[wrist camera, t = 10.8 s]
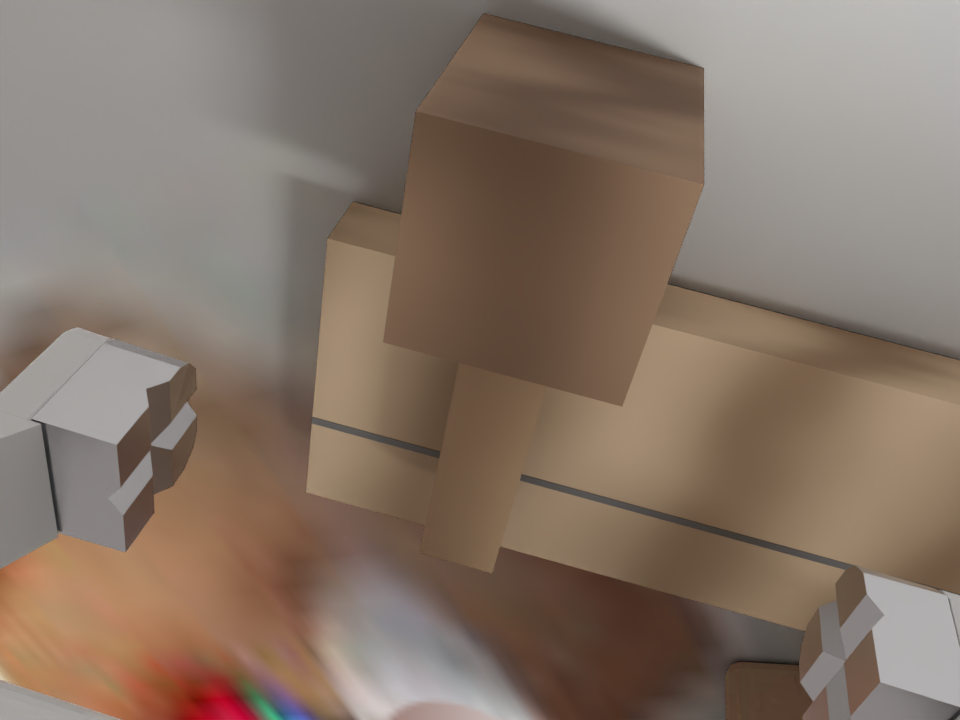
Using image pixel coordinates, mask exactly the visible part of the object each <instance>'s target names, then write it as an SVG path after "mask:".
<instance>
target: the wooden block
mask: <svg viewBox="0 0 960 720" xmlns="http://www.w3.org/2000/svg"><path fill="white" fill-rule="evenodd" d="M812 703H813V701H812V699H811V698H810V696H809V695H808V693H807V692H806V690H805V689H804V687H803V686H802V684H801V683H800V671H799V665H786V664H768V663H751V662H737V663H733V664H731V665H730V667H729V669H728V671H727V673H726V675H725V705H726V720H803V718H802V716H803V715H804V713H805V712H806V711H807V709H808V708H809V707H810V705H811V704H812Z"/></svg>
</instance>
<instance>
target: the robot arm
mask: <svg viewBox="0 0 960 720" xmlns="http://www.w3.org/2000/svg"><path fill="white" fill-rule="evenodd" d="M196 389H197V387H196V368H194V367H193V366H192V365H191V364H189V363H187V362H184V361H181V360H178V359H175V358H172V357H169V356H165V355H162V354H159V353H156V352H153V351H150V350H147V349H144V348H141V347H138V346H135V345H132V344H129V343H126V342H123V341H120V340H117V339H111V338H108V337H105V336H102V335H99V334H96V333H93V332H90V331H87V330H84V329H81V328H78V327H77V328H74V329H71V330H67V331H65V332H64V333H63V334H61V335H60V336H59V337H58V338H57V339H56V340H55V341H54V342H53V343H52V344H51V345H50V346H49V347H48V348H47V349H46V350H45V351H44V352H43V353H41V354H40V355H39V356H38V357H37V358H36V359H35V360H34V361H33V362H32V363H31V364H30V365H29V366H28V367H27V368H26V369H25V370H24V371H22V372H21V373H20V374H19V375H18V376H17V377H16V378H15V379H14V380H13V381H12V382H11V383H10V384H9V385H8V386H7V387H6V388H5V389H4V390H2V391H1V392H0V569H1V568H3V567H5V566H6V565H8V564H10V563H12V562H14V561H15V560H17V559H19V558H21V557H23V556H24V555H26V554H28V553H30V552H32V551H34V550H35V549H37V548H39V547H41V546H43V545H44V544H46V543H48V542H50V541H52V540H53V539H55V538H57V537H58V533H60V534H64V535H67V536H71V537H74V538H78V539H81V540H85V541H88V542H92V543H95V544H99V545H102V546H106V547H109V548H113V549H116V550H119V551H123V552H126V551H127V550H128V549H129V547H130V546H131V544H132V543H133V542H134V540H135V539H136V537H137V536H138V535H139V533H140V532H141V530H142V529H143V528H144V526H145V525H146V523H147V522H148V521H149V519H150V518H151V516H152V515H153V514H154V494H156V493H158V492H161V491H163V490H165V489H168V488H170V487H172V486H173V485H174V484H175V482H176V481H177V479H178V478H179V476H180V475H181V473H182V472H183V470H184V468H185V466H186V464H187V461H188V459H189V457H190V454H191V452H192V449H193V446H194V441H195V436H196V431H197V415H196V414H195V413H194V411H193V410H192V408H191V407H190V405H189V404H188V402H187V401H188V400H189V398H190V397H191V396H192V394H193V393H194V392H195V390H196ZM835 587H836V596H837V600H836V601H833V602H831V603H828V604H825V605H822V606H820V607H818V609H817V611H816V612H815V614H814V615H813V617H812V618H811V620H810V621H809V623H808V625H807V628H806V631H805V634H804V637H803V640H802V644H801V649H800V659H799V671H800V683H801V684H802V686H803V687H804V689H805V690H806V692H807V693H808V695H809V696H810V698H811V699H812V701H813V703H812V704H811V705H810V707H809V708H808V709H807V711H806V712H805V713H804V715H803V716H802V718H803V720H960V595H957V594H953V593H950V592H946V591H943V590H937V589H935V588H932V587H928V586H925V585H922V584H918V583H915V582H911V581H908V580H904V579H901V578H898V577H894V576H891V575H887V574H884V573H881V572H877V571H874V570H870V569H867V568H864V567H860V566H857V565H853V566H852V567H850V568H848V569H847V570H845V571H844V573H843V574H842V575H841V577H840V578H839V579H838V581H837V582H836V583H835ZM0 720H121V719H118V718H115V717H112V716H109V715H106V714H103V713H100V712H97V711H94V710H91V709H88V708H85V707H82V706H79V705H76V704H73V703H69V702H66V701H63V700H60V699H57V698H54V697H51V696H48V695H45V694H42V693H39V692H36V691H33V690H30V689H27V688H24V687H21V686H18V685H15V684H12V683H9V682H6V681H3V680H0Z"/></svg>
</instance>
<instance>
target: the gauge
mask: <svg viewBox="0 0 960 720" xmlns="http://www.w3.org/2000/svg"><path fill="white" fill-rule="evenodd" d="M703 186H704V68H701V67H697V66H693V65H689V64H685V63H681V62H677V61H673V60H669V59H665V58H661V57H657V56H653V55H649V54H645V53H641V52H637V51H633V50H629V49H625V48H621V47H616V46H612V45H608V44H604V43H600V42H596V41H592V40H588V39H584V38H580V37H576V36H572V35H568V34H564V33H560V32H556V31H552V30H548V29H544V28H540V27H536V26H532V25H528V24H524V23H520V22H516V21H512V20H508V19H504V18H500V17H496V16H492V15H488V14H483V15H482V16H481V18H480V19H479V21H478V22H477V24H476V25H475V26H474V28H473V29H472V31H471V32H470V34H469V35H468V37H467V38H466V39H465V41H464V42H463V44H462V45H461V47H460V48H459V49H458V51H457V52H456V54H455V55H454V57H453V58H452V60H451V61H450V62H449V64H448V65H447V67H446V68H445V70H444V71H443V72H442V74H441V75H440V77H439V78H438V80H437V81H436V83H435V84H434V85H433V87H432V88H431V90H430V91H429V93H428V94H427V95H426V97H425V98H424V100H423V101H422V103H421V104H420V106H419V107H418V108H417V110H416V113H415V120H414V127H413V134H412V141H411V148H410V155H409V162H408V169H407V176H406V183H405V190H404V197H403V205H402V212H401V219H400V226H399V233H398V240H397V247H396V254H395V261H394V268H393V275H392V282H391V289H390V296H389V303H388V310H387V317H386V325H385V332H384V339H383V343H387V344H391V345H395V346H398V347H402V348H406V349H409V350H413V351H417V352H421V353H424V354H428V355H432V356H435V357H439V358H443V359H447V360H450V361H454V362H458V363H459V367H458V372H457V376H456V381H455V386H454V391H453V395H452V400H451V405H450V410H449V414H448V419H447V424H446V428H445V433H444V438H443V443H442V447H441V452H440V457H439V462H438V466H437V471H436V476H435V481H434V485H433V490H432V495H431V499H430V504H429V509H428V514H427V518H426V523H425V528H424V533H423V537H422V542H421V547H420V551H419V553H421V554H425V555H428V556H432V557H435V558H439V559H443V560H446V561H450V562H453V563H457V564H460V565H464V566H468V567H471V568H475V569H478V570H482V571H485V572H489V573H493V569H494V566H495V563H496V559H497V556H498V552H499V549H500V546H501V542H502V539H503V535H504V532H505V529H506V525H507V522H508V518H509V515H510V512H511V508H512V505H513V501H514V498H515V495H516V491H517V488H518V485H519V481H520V478H521V474H522V471H523V468H524V464H525V461H526V457H527V454H528V451H529V447H530V444H531V440H532V437H533V434H534V430H535V427H536V423H537V420H538V417H539V413H540V410H541V407H542V403H543V400H544V396H545V393H546V390H547V387H551V388H554V389H558V390H562V391H566V392H569V393H573V394H577V395H580V396H584V397H588V398H592V399H595V400H599V401H603V402H606V403H610V404H614V405H618V406H621V407H622V406H623V403H624V401H625V398H626V395H627V392H628V390H629V387H630V384H631V382H632V379H633V376H634V373H635V371H636V368H637V365H638V363H639V360H640V357H641V354H642V352H643V349H644V346H645V344H646V341H647V338H648V335H649V333H650V330H651V327H652V325H653V322H654V319H655V316H656V314H657V311H658V308H659V306H660V303H661V300H662V297H663V295H664V292H665V289H666V287H667V284H668V281H669V278H670V276H671V273H672V270H673V268H674V265H675V262H676V259H677V257H678V254H679V251H680V249H681V246H682V243H683V240H684V238H685V235H686V232H687V230H688V227H689V224H690V221H691V219H692V216H693V213H694V211H695V208H696V205H697V203H698V200H699V197H700V194H701V192H702V189H703Z"/></svg>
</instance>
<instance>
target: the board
mask: <svg viewBox="0 0 960 720" xmlns="http://www.w3.org/2000/svg"><path fill="white" fill-rule="evenodd" d="M400 219H401V214H397V213H393V212H389V211H386V210H382V209H378V208H374V207H370V206H366V205H363V204H359V203H355V202H352V204H351V205H350V207H349V208H348V210H347V211H346V212H345V214H344V215H343V217H342V218H341V220H340V221H339V222H338V224H337V225H336V227H335V228H334V230H333V231H332V233H331V234H330V235H329V237H328V238H327V249H326V261H325V272H324V284H323V296H322V308H321V320H320V332H319V344H318V355H317V367H316V379H315V391H314V403H313V415H312V426H311V438H310V450H309V462H308V474H307V486H306V493H310V494H313V495H317V496H321V497H324V498H328V499H331V500H335V501H339V502H342V503H346V504H349V505H353V506H357V507H360V508H364V509H367V510H371V511H374V512H378V513H382V514H385V515H389V516H392V517H396V518H400V519H403V520H407V521H410V522H414V523H418V524H421V525H425V523H426V518H427V514H428V509H429V504H430V499H431V495H432V490H433V485H434V481H435V476H436V471H437V466H438V462H439V457H440V452H441V447H442V443H443V438H444V433H445V428H446V424H447V419H448V414H449V410H450V405H451V400H452V395H453V391H454V386H455V381H456V376H457V372H458V367H459V363H458V362H454V361H450V360H447V359H443V358H439V357H435V356H432V355H428V354H424V353H421V352H417V351H413V350H409V349H406V348H402V347H398V346H395V345H391V344H387V343H383V339H384V332H385V325H386V317H387V310H388V303H389V296H390V289H391V282H392V275H393V268H394V261H395V254H396V247H397V240H398V233H399V226H400ZM500 547H504V548H507V549H511V550H514V551H518V552H522V553H525V554H529V555H532V556H536V557H540V558H543V559H547V560H550V561H554V562H558V563H561V564H565V565H568V566H572V567H575V568H579V569H583V570H586V571H590V572H593V573H597V574H601V575H604V576H608V577H611V578H615V579H619V580H622V581H626V582H629V583H633V584H636V585H640V586H644V587H647V588H651V589H654V590H658V591H662V592H665V593H669V594H672V595H676V596H680V597H683V598H687V599H690V600H694V601H697V602H701V603H705V604H708V605H712V606H715V607H719V608H723V609H726V610H730V611H733V612H737V613H741V614H744V615H748V616H751V617H755V618H758V619H762V620H766V621H769V622H773V623H776V624H780V625H784V626H787V627H791V628H794V629H798V630H802V631H806V628H807V625H808V623H809V621H810V620H811V618H812V617H813V615H814V614H815V612H816V611H817V609H818V607H820V606H822V605H825V604H828V603H831V602H833V601H836V600H837V596H836V587H835V583H836V582H837V581H838V579H839V578H840V577H841V575H842V574H843V573H844V571H845V570H847V569H848V568H850V567H852V566H853V565H857V566H860V567H864V568H867V569H870V570H874V571H877V572H881V573H884V574H887V575H891V576H894V577H898V578H901V579H904V580H908V581H911V582H915V583H918V584H922V585H925V586H928V587H932V588H935V589H937V590H943V591H946V592H950V593H953V594H957V595H960V360H956V359H953V358H949V357H945V356H941V355H937V354H933V353H930V352H926V351H922V350H918V349H914V348H911V347H907V346H903V345H899V344H895V343H891V342H888V341H884V340H880V339H876V338H872V337H868V336H865V335H861V334H857V333H853V332H849V331H845V330H842V329H838V328H834V327H830V326H826V325H822V324H819V323H815V322H811V321H807V320H803V319H799V318H796V317H792V316H788V315H784V314H780V313H776V312H773V311H769V310H765V309H761V308H757V307H753V306H750V305H746V304H742V303H738V302H734V301H730V300H727V299H723V298H719V297H715V296H711V295H707V294H704V293H700V292H696V291H692V290H688V289H684V288H681V287H677V286H673V285H669V284H667V287H666V289H665V292H664V295H663V297H662V300H661V303H660V306H659V308H658V311H657V314H656V316H655V319H654V322H653V325H652V327H651V330H650V333H649V335H648V338H647V341H646V344H645V346H644V349H643V352H642V354H641V357H640V360H639V363H638V365H637V368H636V371H635V373H634V376H633V379H632V382H631V384H630V387H629V390H628V392H627V395H626V398H625V401H624V403H623V406H622V407H621V406H618V405H614V404H610V403H606V402H603V401H599V400H595V399H592V398H588V397H584V396H580V395H577V394H573V393H569V392H566V391H562V390H558V389H554V388H551V387H547V390H546V393H545V396H544V400H543V403H542V407H541V410H540V413H539V417H538V420H537V423H536V427H535V430H534V434H533V437H532V440H531V444H530V447H529V451H528V454H527V457H526V461H525V464H524V468H523V471H522V474H521V478H520V481H519V485H518V488H517V491H516V495H515V498H514V501H513V505H512V508H511V512H510V515H509V518H508V522H507V525H506V529H505V532H504V535H503V539H502V542H501V546H500Z"/></svg>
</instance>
